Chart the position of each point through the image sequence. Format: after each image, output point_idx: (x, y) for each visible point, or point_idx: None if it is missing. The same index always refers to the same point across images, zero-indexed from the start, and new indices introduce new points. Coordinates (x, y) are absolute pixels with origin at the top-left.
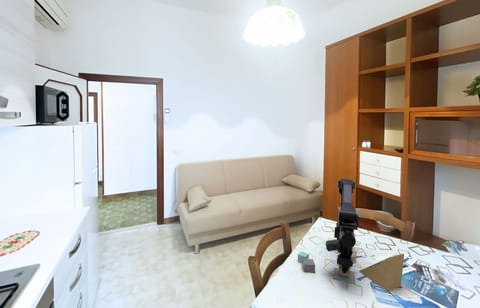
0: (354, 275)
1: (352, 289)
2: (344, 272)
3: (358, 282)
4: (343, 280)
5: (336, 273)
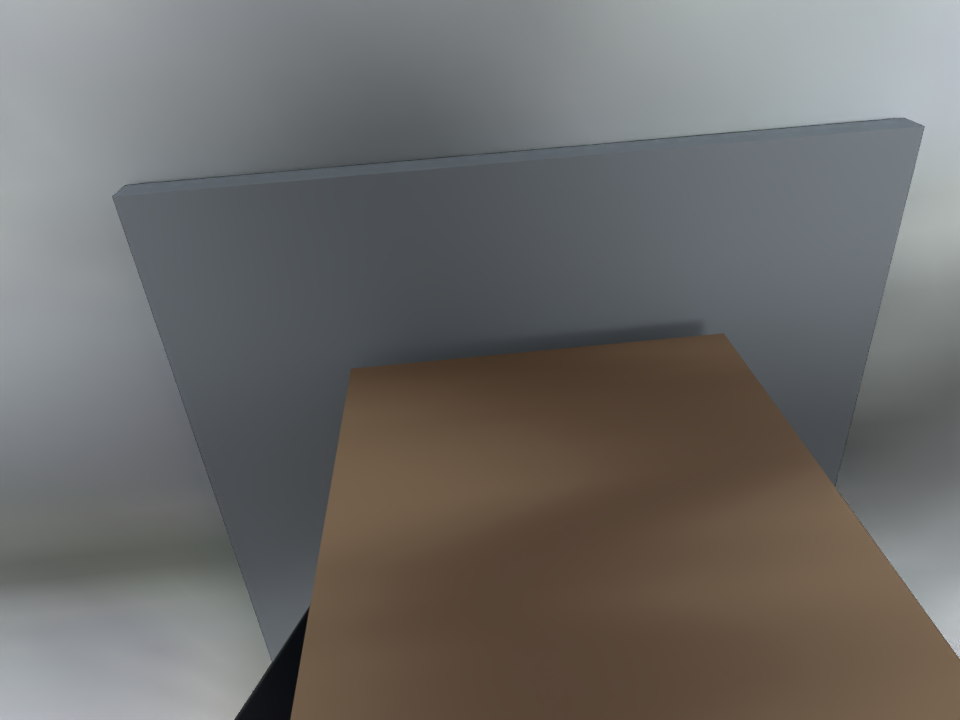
0: None
1: (20, 667)
2: None
3: None
4: (218, 497)
5: (487, 278)
